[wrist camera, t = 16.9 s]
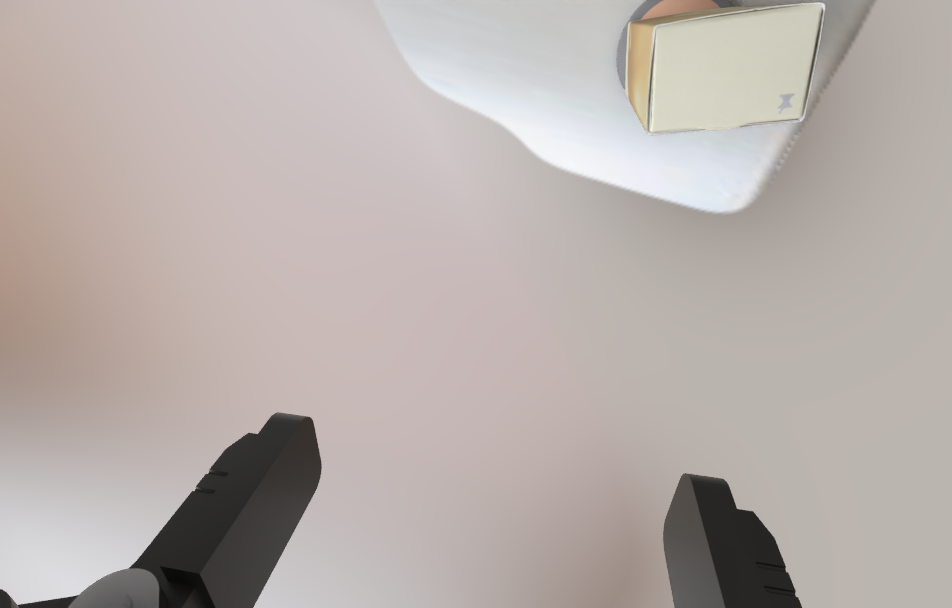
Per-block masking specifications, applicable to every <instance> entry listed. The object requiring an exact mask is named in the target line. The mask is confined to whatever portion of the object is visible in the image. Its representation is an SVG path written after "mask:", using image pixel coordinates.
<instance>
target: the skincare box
mask: <svg viewBox="0 0 952 608" xmlns="http://www.w3.org/2000/svg"><path fill="white" fill-rule="evenodd" d="M825 9H826V4H825V3H824V2H809V3H795V4H784V5H766V6H745V7H728V8H718V9H708V10H700V11H692V12H684V13H676V14H670V15H664V16H659V17H653V18H647V19H641V20H636V21H630V22H629V23H628V33H627V51H626V79H625V93H626V96H627V98H628V99H629V101H630V103H631V105H632V107H633V109H634V111H635V112H636V114H637V116H638V118H639V120H640V122H641V124H642V125H643V127H644V129H645V131H646V133H647V134H649V135H663V134H676V133H687V132H698V131H711V130H722V129H732V128H742V127H752V126H763V125H774V124H783V123H794V122H801V121H803V120H804V117H805V113H806V108H807V103H808V99H809V95H810V89H811V85H812V81H813V76H814V71H815V66H816V61H817V57H818V51H819V46H820V41H821V35H822V29H823V21H824V15H825Z"/></svg>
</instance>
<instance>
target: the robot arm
mask: <svg viewBox="0 0 952 608" xmlns="http://www.w3.org/2000/svg"><path fill="white" fill-rule="evenodd" d="M320 475H321V459H320V454H319V448H318V443H317V439H316V434H315V428H314V424H313V420H312V419H311V418H310V417H306V416H299V415H292V414H285V413H275V414H274V415H272V416H271V418H270V419H269V420H268V421H267V423H266V424H265V425H264V427H263V428H262V429H261V431H260V432H259V433H258V434H253V433H248V434H246V435H245V436H243V437H242V438H241V439H239V440H238V441H236V442H235V443H234V444H232V445H231V446H229V447H228V448H227V449H226V450H225V451H224V452H223V453H222V455H221V456H220V457H219V458H218V460H217V461H216V462H215V463H214V465H213V466H212V467H211V469H210V471H209V473H208V474H206V475H205V476H204V477H203V478H202V480H201V481H200V482H199V483H198V485H197V486H196V489H195V491H192V492H191V493H190V495H189V496H188V497H187V499H186V500H185V501H184V502H183V503H182V505H181V506H180V507H179V509H178V510H177V511H176V512H175V514H174V515H173V516H172V517H171V519H170V520H169V521H168V522H167V524H166V525H165V526H164V527H163V529H162V530H161V531H160V533H159V534H158V535H157V536H156V537H155V539H154V540H153V541H152V542H151V544H150V545H149V546H148V547H147V549H146V550H145V551H144V553H143V554H142V555H141V556H140V557H139V559H138V560H137V561H136V562H135V563H134V564H133V565H132V566H131V567H130V568H129V569H125V570H121V571H117V572H114V573H112V574H109V575H107V576H105V577H103V578H101V579H100V580H98V581H96V582H95V583H93V584H92V585H91V586H89V587H88V588H87V589H85V590H84V591H83V592H82V593H81V594H80V595H77V596H73V597H67V598H60V599H54V600H48V601H41V602H35V603H28V604H21V605H17V604H16V603H15V602H14V601H13V599H12V598H11V597H10V596H9V595H8V594H7V593H6V592H5V591H3V590H1V589H0V608H253V607H254V605H255V603H256V601H257V599H258V597H259V596H260V594H261V592H262V590H263V588H264V586H265V584H266V583H267V580H268V579H269V577H270V575H271V573H272V571H273V569H274V568H275V566H276V564H277V562H278V560H279V558H280V556H281V555H282V552H283V551H284V549H285V547H286V545H287V543H288V541H289V540H290V538H291V536H292V534H293V532H294V530H295V528H296V526H297V525H298V523H299V521H300V519H301V517H302V515H303V513H304V511H305V510H306V508H307V506H308V504H309V502H310V500H311V498H312V497H313V495H314V493H315V491H316V489H317V486H318V483H319V480H320ZM663 535H664V536H663V537H664V538H663V540H664V551H665V556H666V562H667V568H668V573H669V579H670V584H671V590H672V595H673V601H674V606H675V608H802V606H801V604H800V601H799V599H798V597H796V596H795V589H794V586H793V584H792V581H791V579H790V576H789V574H788V573H787V572H786V570H785V567H786V566H785V564H784V561H783V559H782V556H781V554H780V551H779V549H778V546H777V544H776V541H775V539H774V537H773V536H772V534H771V533H770V532H769V531H768V530H767V528H766V527H765V526H764V525H763V523H762V522H761V521H760V520H759V518H758V517H757V516H756V515H755V513H754V512H752V511H746V510H739V509H737V508H736V505H735V502H734V499H733V496H732V494H731V490H730V488H729V485H728V484H727V482H726V481H725V480H724V479H720V478H714V477H707V476H699V475H693V474H686V473H685V474H683V475H682V476H681V478H680V481H679V484H678V486H677V489H676V492H675V494H674V497H673V500H672V502H671V505H670V508H669V510H668V513H667V516H666V519H665V523H664V533H663Z"/></svg>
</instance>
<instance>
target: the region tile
mask: <svg viewBox="0 0 952 608" xmlns="http://www.w3.org/2000/svg"><path fill="white" fill-rule="evenodd" d="M728 7H732V5H731V4H730V3H729V1H728V0H646V1H645V2H644V3H643V4H642V5H641V6H640V7H639V8H638V9H637V10H636V11H635V12H634V13H633V15H632V16H631V17H630V19H629V21H628V22H627V24H626V26H625V28H624V30H623V32H622V35H621V37H620V40H619V44H618V49H617V71H618V76H619V79H620V82H621V84H622V86H623V88H624V90H625V79H626V51H627V33H628V23H629V22H630V21H636V20H641V19H647V18H653V17H659V16H664V15H670V14H676V13H684V12H692V11H700V10H708V9H718V8H728Z"/></svg>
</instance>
